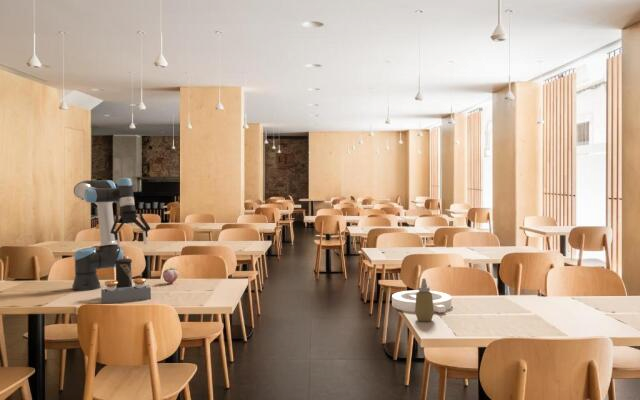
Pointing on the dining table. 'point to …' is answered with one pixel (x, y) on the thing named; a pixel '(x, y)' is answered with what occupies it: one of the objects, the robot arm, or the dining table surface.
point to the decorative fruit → (170, 275)
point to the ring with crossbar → (408, 301)
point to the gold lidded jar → (139, 283)
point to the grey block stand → (125, 294)
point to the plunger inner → (111, 285)
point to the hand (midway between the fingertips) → (132, 244)
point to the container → (123, 273)
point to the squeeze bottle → (424, 303)
